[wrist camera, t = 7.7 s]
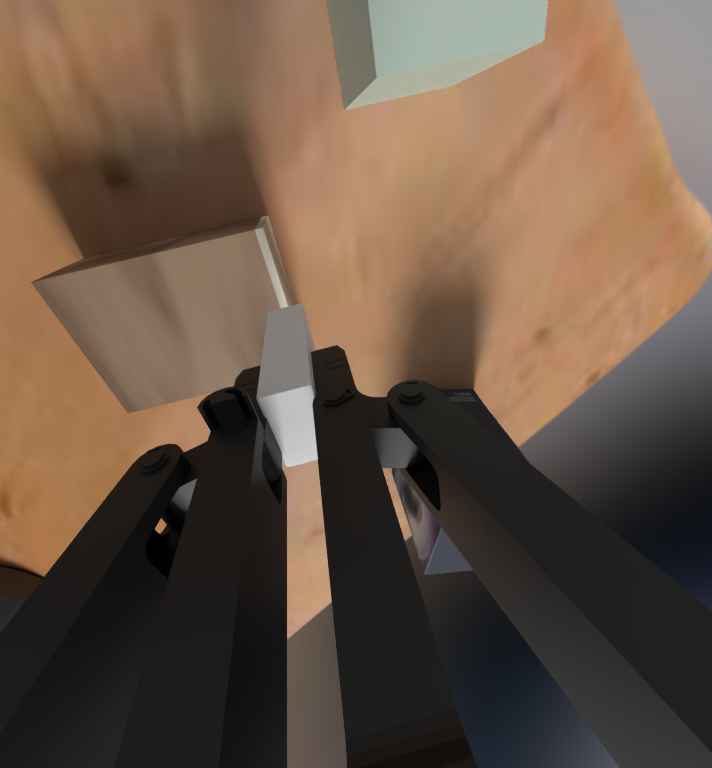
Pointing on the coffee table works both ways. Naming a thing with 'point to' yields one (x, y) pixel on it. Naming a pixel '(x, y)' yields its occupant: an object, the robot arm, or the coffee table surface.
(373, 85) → the sage block
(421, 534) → the small box
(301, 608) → the coffee table surface
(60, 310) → the walnut block
